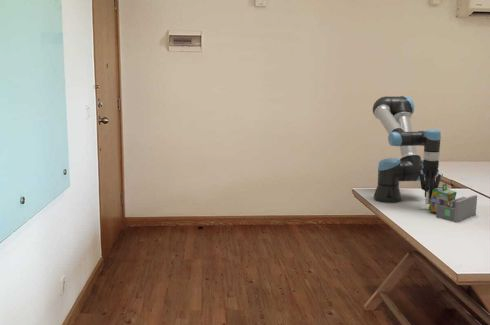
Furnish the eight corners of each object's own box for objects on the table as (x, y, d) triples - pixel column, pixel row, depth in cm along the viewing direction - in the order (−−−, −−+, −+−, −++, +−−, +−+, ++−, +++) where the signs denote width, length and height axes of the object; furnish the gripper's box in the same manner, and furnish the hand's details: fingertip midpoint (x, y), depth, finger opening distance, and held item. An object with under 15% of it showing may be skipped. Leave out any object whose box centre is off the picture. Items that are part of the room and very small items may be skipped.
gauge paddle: (446, 217, 226) (447, 201, 224) (462, 211, 235) (463, 196, 234) (448, 217, 225) (449, 202, 223) (464, 212, 234) (465, 196, 233)
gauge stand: (435, 217, 229) (437, 197, 228) (455, 210, 241) (456, 191, 240) (456, 222, 221) (458, 202, 219) (476, 214, 233) (477, 195, 231)
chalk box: (444, 216, 231) (451, 188, 226) (427, 209, 237) (433, 182, 233) (452, 212, 237) (459, 185, 233) (435, 206, 243) (441, 180, 239)
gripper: (415, 158, 241) (413, 202, 245) (439, 162, 231) (436, 207, 235) (423, 157, 245) (420, 199, 250) (446, 160, 235) (443, 204, 240)
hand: (428, 203), depth 242 cm, fingers closed
